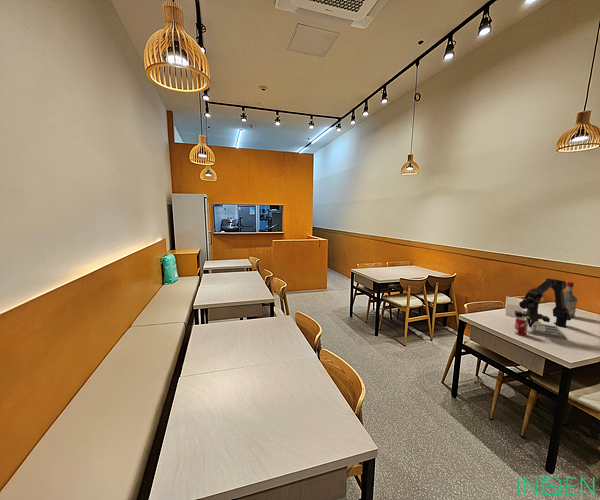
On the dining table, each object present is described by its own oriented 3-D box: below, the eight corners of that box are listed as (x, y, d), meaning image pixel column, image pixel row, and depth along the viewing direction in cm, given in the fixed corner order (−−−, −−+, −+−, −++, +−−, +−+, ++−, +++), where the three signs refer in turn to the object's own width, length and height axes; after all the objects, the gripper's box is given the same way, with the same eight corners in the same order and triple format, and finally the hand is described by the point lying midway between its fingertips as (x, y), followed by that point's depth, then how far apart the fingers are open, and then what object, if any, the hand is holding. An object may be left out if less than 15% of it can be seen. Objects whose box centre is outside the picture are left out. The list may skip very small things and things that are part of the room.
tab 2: (536, 329, 182) (537, 324, 181) (543, 331, 180) (544, 325, 179) (537, 331, 179) (538, 325, 179) (544, 332, 177) (545, 326, 176)
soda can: (515, 334, 176) (517, 319, 175) (512, 331, 182) (514, 316, 181) (527, 337, 173) (530, 321, 172) (524, 333, 179) (526, 317, 177)
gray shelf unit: (528, 324, 195) (528, 321, 194) (556, 329, 186) (556, 326, 186) (534, 333, 179) (534, 330, 179) (565, 339, 170) (565, 336, 170)
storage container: (522, 318, 205) (523, 306, 204) (505, 315, 212) (506, 303, 211) (520, 310, 224) (522, 298, 223) (505, 307, 231) (506, 296, 230)
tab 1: (532, 324, 192) (533, 318, 191) (539, 325, 190) (540, 319, 189) (533, 325, 189) (534, 319, 189) (540, 326, 187) (541, 321, 186)
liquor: (575, 317, 209) (581, 283, 204) (567, 318, 207) (573, 284, 202) (562, 313, 217) (567, 280, 213) (554, 314, 215) (560, 281, 211)
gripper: (518, 308, 179) (515, 327, 181) (553, 313, 169) (550, 334, 171) (515, 303, 188) (512, 322, 190) (548, 308, 178) (545, 328, 180)
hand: (529, 327), depth 183 cm, fingers closed
